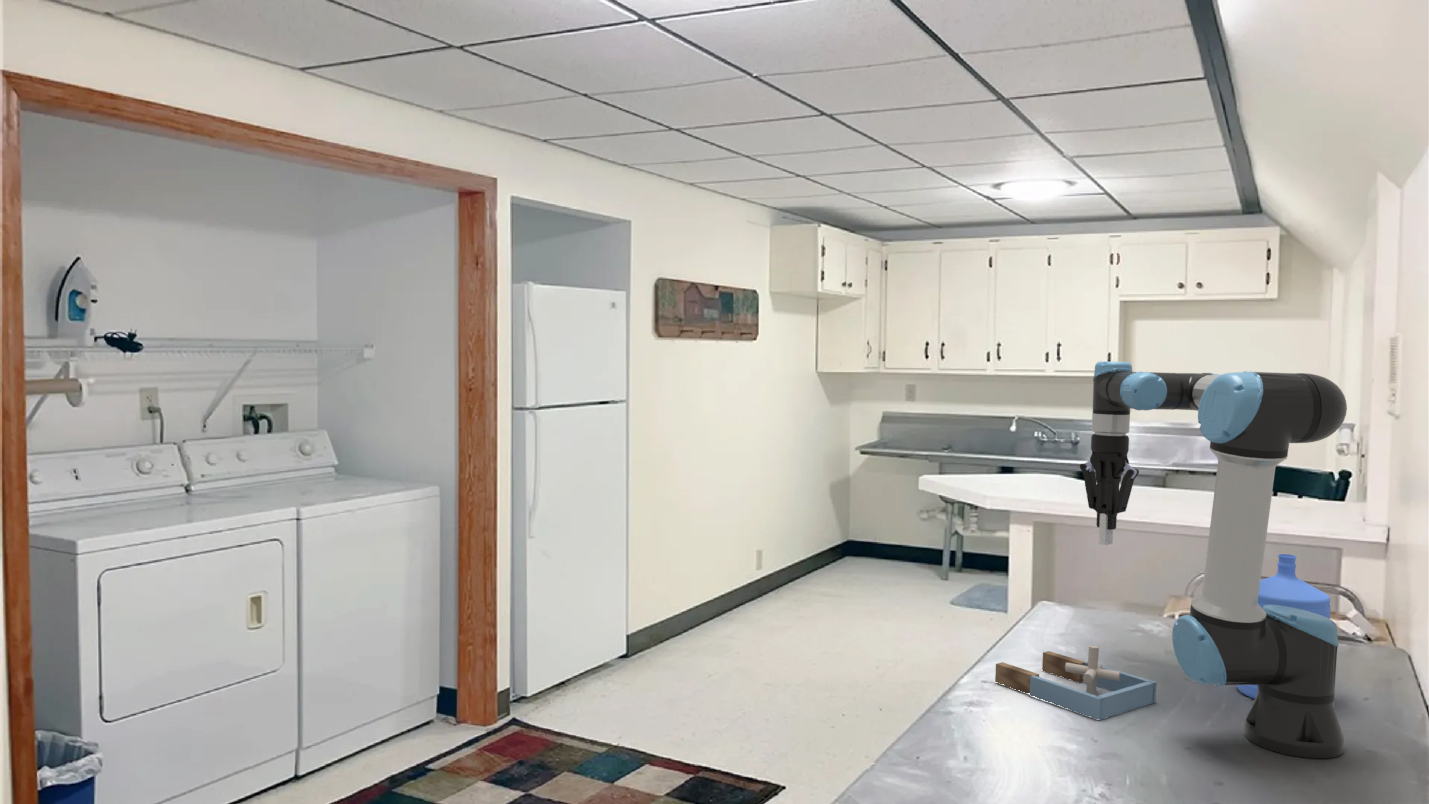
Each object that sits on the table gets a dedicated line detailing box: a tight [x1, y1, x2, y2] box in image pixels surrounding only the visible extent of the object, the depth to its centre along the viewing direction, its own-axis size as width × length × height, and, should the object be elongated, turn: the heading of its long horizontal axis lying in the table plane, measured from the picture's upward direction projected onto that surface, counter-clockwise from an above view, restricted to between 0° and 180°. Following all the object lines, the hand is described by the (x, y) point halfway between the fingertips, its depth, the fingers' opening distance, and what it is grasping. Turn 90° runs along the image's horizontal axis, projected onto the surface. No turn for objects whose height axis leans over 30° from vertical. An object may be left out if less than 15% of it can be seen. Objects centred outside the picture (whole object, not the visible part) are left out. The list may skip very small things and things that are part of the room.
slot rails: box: [994, 650, 1086, 694], centre depth 211 cm, size 9×17×4 cm, turn 125°
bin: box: [1029, 661, 1158, 720], centre depth 201 cm, size 15×18×4 cm
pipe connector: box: [1065, 645, 1121, 696], centre depth 202 cm, size 10×10×10 cm
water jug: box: [1236, 553, 1331, 700], centre depth 206 cm, size 16×16×28 cm
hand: (1105, 543), depth 222 cm, fingers closed
